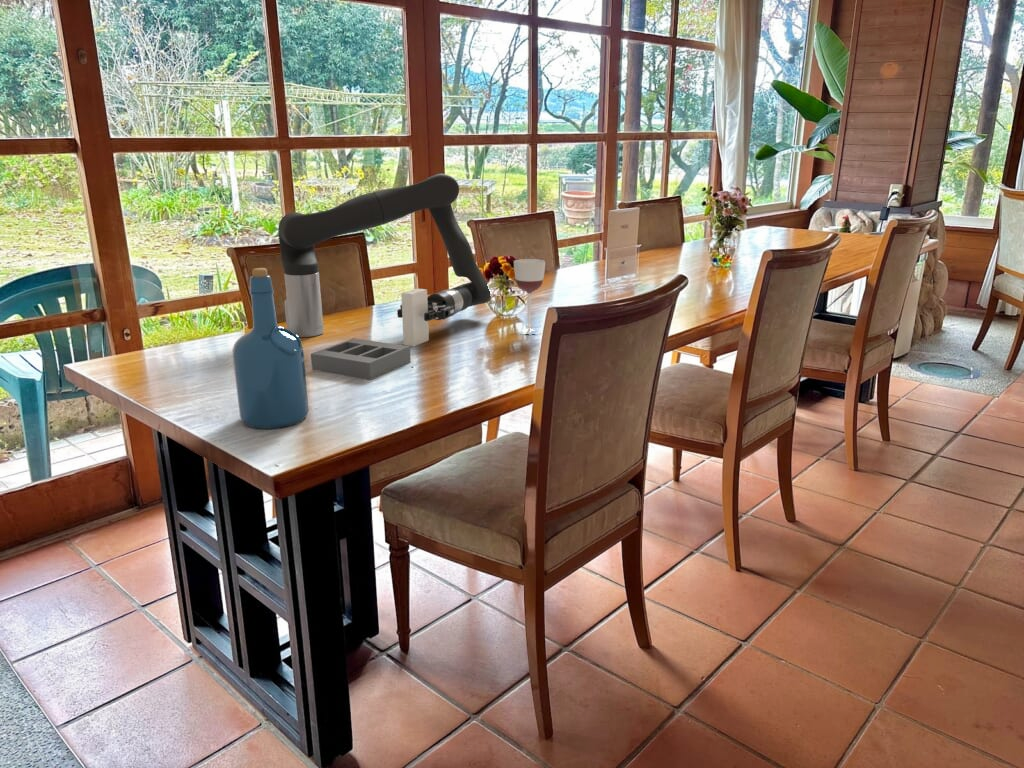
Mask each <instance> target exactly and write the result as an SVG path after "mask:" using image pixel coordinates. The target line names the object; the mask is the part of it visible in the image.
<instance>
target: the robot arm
mask: <svg viewBox="0 0 1024 768" xmlns="http://www.w3.org/2000/svg"><path fill="white" fill-rule="evenodd" d="M459 193H460V185H459V183H458V181H457V180H456V178H455V177H453V176H452V175H450V174H446V173H437V174H433V175H431V176H429V177H427V178H425V179H424V180H422V181H421V180H420V181H419V182H416V183H413V184H410V185H405V186H399V187H392V188H386V189H381V190H376V191H372V192H368V193H365V194H361V195H357V196H355V197H353V198H350V199H349V200H346V201H344V202H343V203H340V204H339V205H337V206H335V207H333V208H329V209H326V210H321V211H318V212H313V213H306V214H305V213H304V214H303V213H302V212H297V211H292V212H289V213H286V214H285V215H284V216H283V217H282V218H281V219H280V221H279V224H278V240H279V241H278V242H279V250H280V258H281V263H282V266H283V275H284V282H285V283H284V285H285V286H284V287H285V293H286V299H284V301H283V302H284V315H285V325H286V329H288V330H290V331H292V332H293V333H295V334H296V335H297V336H298V337H299V338H308V337H309V338H310V337H316V336H319V335H322V334H323V333H324V332H325V331H324V320H323V308H322V307H323V305H322V295H321V283H320V271H319V269H320V268H319V262H318V260H317V256H316V252H315V246H316V245H318V244H320V243H322V242H325V241H328V240H329V239H333V238H335V237H338V236H342V235H343V236H344V235H347V234H352V233H357V232H361V231H364V230H369V229H373V228H377V227H380V226H383V225H386V224H389V223H392V222H394V221H397V220H399V219H402V218H404V217H406V216H409V215H411V214H414V213H415V212H416V213H417V212H419V211H423V210H427V209H428V211H429V213H430V214H431V217H432V219H433V220H434V223H435V226H436V227H437V229H438V231H439V234H440V236H441V239H442V241H443V244H444V247H445V250H446V252H447V255H448V258H449V260H450V261H449V262H450V264H451V267H452V270H453V272H454V274H455V276H456V277H457V278H467V279H468V280H469V282H467V283H462V284H459V285H458V286H456V287H452V288H447V289H443V290H440V291H438V292H434V293H432V294H430V295H429V296H428V295H427V301H428V312H426V313H424V320H425V321H428V322H430V321H432V320H435V321H441V320H443V321H444V320H446V319H448V318H451V317H453V316H454V315H456V314H458V313H459V312H462V311H465V310H466V309H468V308H469V307H474V306H478V305H482V304H487V303H488V302H489V301H490V300H491V298H492V295H491V296H490V291H489V289H488V286H487V281H488V280H487V279H486V280H485V278H486V277H485V276H484V277H485V278H484V277H483V275H484V274H483V272H482V271H481V269H480V268H479V266H478V264H477V262H476V259H475V255H474V253H473V250H472V246H471V245H470V243H469V240H468V239H467V237H466V235H465V234H464V231H463V230H462V228H461V227H460V225H459V223H458V221H457V219H456V217H455V213H454V210H453V206H452V204H453V203H454V202H455V201H456V199H458V196H459ZM482 274H483V275H482ZM396 314H397V318H399V319H402V304H400V308H399V309H397V313H396Z"/></svg>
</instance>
